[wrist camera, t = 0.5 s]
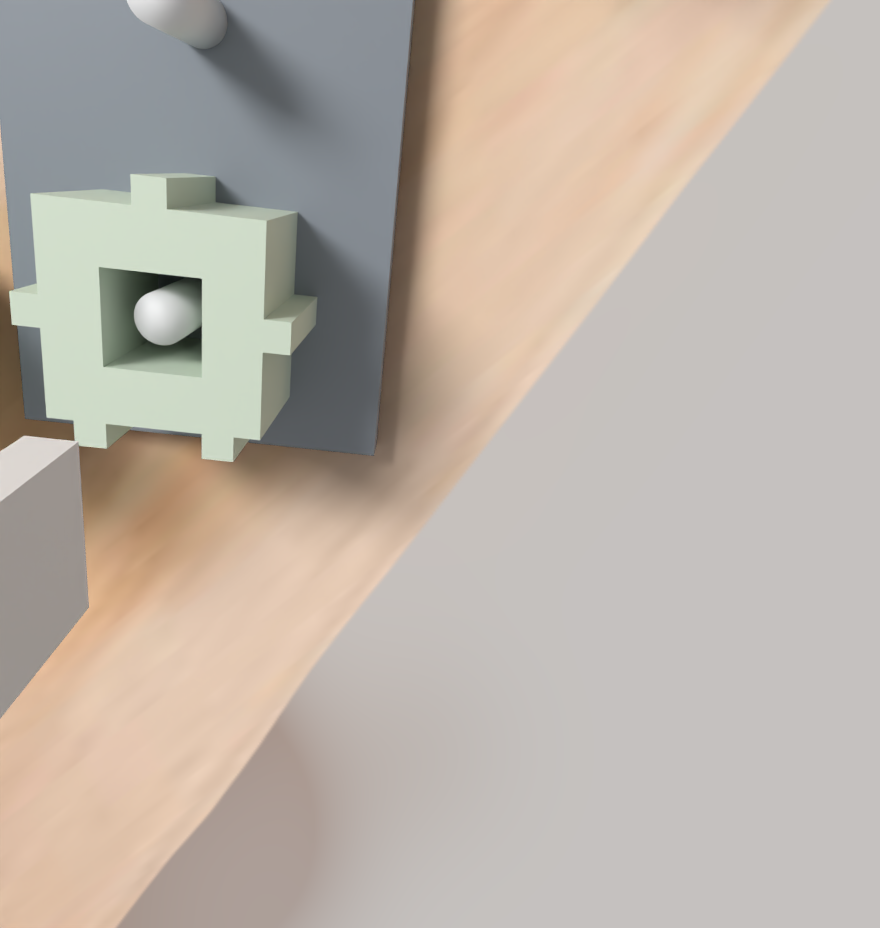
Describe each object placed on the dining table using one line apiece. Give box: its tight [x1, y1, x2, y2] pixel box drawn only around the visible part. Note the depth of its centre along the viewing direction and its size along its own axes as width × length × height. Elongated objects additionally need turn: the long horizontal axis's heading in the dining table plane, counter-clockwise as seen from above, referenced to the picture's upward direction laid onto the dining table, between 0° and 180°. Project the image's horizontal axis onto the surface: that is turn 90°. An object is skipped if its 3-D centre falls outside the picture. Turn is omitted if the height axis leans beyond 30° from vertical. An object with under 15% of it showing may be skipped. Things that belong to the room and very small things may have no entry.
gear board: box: [0, 0, 415, 462], centre depth 29 cm, size 24×16×8 cm, turn 174°
